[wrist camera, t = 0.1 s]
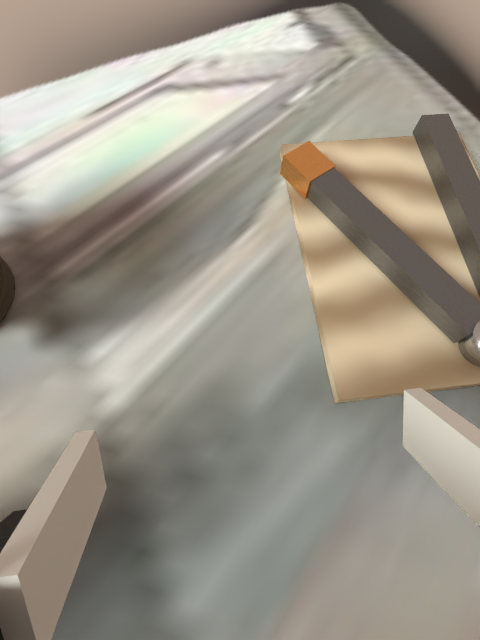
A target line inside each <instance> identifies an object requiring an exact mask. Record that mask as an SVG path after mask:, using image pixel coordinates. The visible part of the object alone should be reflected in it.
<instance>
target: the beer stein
mask: <svg viewBox="0 0 480 640" xmlns="http://www.w3.org/2000/svg"><path fill="white" fill-rule="evenodd" d="M14 289H15V288H14V277H13V275H12V272H11V270H10V268H9V266H8V265H7V264H6V262H5V261H4V260H3V259H2V258H1V257H0V322H1V320H2V319H3V317H4V316H5V314H6V312H7V310H8V308H9V306H10V304H11V302H12V300H13V295H14Z"/></svg>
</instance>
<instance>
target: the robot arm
mask: <svg viewBox="0 0 480 640" xmlns="http://www.w3.org/2000/svg"><path fill="white" fill-rule="evenodd" d="M403 447H404V448H405V449H406V450H407V451H408V452H409V453H410V454H411V455H412V456H413V457H414V458H415V460H416V461H417V462H418V463H419V464H420V465H421V466H422V467H423V468H424V469H425V470H426V471H427V472H428V473H429V474H430V475H431V477H432V478H433V479H434V480H435V481H436V482H437V483H438V484H439V485H440V486H441V487H442V488H443V489H444V490H445V491H446V492H447V494H448V495H449V496H450V497H451V498H452V499H453V500H454V501H455V502H456V503H457V504H458V505H459V506H460V507H461V508H462V509H463V510H464V512H465V513H466V514H467V515H468V516H469V517H470V518H471V519H472V520H473V521H474V522H475V523H476V524H477V525H478V526H479V527H480V429H478V428H477V427H476V426H474V425H473V424H471V423H470V422H468V421H467V420H466V419H464V418H463V417H461V416H460V415H459V414H457V413H456V412H454V411H453V410H452V409H450V408H449V407H447V406H446V405H445V404H443V403H442V402H440V401H439V400H437V399H436V398H435V397H433V396H432V395H430V394H429V393H428V392H426V391H425V390H423V389H422V388H414V389H407V390H404V414H403ZM106 489H107V486H106V481H105V476H104V471H103V466H102V461H101V456H100V451H99V446H98V441H97V436H96V431H95V430H87V431H79V432H76V433H75V434H74V436H73V437H72V439H71V441H70V442H69V444H68V445H67V447H66V449H65V450H64V452H63V453H62V455H61V457H60V458H59V460H58V461H57V463H56V465H55V466H54V468H53V469H52V471H51V473H50V474H49V476H48V477H47V479H46V481H45V482H44V484H43V485H42V487H41V489H40V490H39V492H38V493H37V495H36V497H35V498H34V500H33V501H32V503H31V505H30V506H29V508H28V509H27V510H21V511H14V512H12V513H11V514H10V515H9V516H8V517H7V518H5V519H4V520H3V521H2V522H1V523H0V640H51V639H52V636H53V633H54V630H55V628H56V625H57V622H58V620H59V617H60V614H61V611H62V609H63V606H64V603H65V600H66V598H67V595H68V592H69V590H70V587H71V584H72V581H73V579H74V576H75V573H76V570H77V568H78V565H79V562H80V560H81V557H82V554H83V551H84V549H85V546H86V543H87V541H88V538H89V535H90V532H91V530H92V527H93V524H94V521H95V519H96V516H97V513H98V511H99V508H100V505H101V502H102V500H103V497H104V494H105V491H106Z"/></svg>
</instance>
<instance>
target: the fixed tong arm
mask: <svg viewBox="0 0 480 640" xmlns="http://www.w3.org/2000/svg"><path fill="white" fill-rule="evenodd" d="M413 135H414V138H415V140H416V142H417V145H418V147H419V150H420V152H421V155H422V157H423V160H424V162H425V165H426V167H427V169H428V172H429V174H430V177H431V179H432V182H433V184H434V187H435V189H436V192H437V194H438V197H439V199H440V201H441V204H442V206H443V209H444V211H445V214H446V216H447V219H448V221H449V224H450V226H451V229H452V231H453V233H454V236H455V238H456V241H457V243H458V246H459V248H460V251H461V253H462V256H463V258H464V260H465V263H466V265H467V268H468V270H469V273H470V275H471V278H472V280H473V283H474V285H475V288H476V290H477V292H478V295H479V297H480V180H479V178H478V176H477V174H476V172H475V170H474V168H473V165H472V163H471V161H470V159H469V157H468V155H467V153H466V150H465V148H464V146H463V144H462V142H461V140H460V138H459V135H458V133H457V131H456V129H455V127H454V125H453V123H452V121H451V118H450V116H449V114H436V115H422V116H421V118H420V120H419V122H418V123H417V125H416V127H415V129H414V131H413Z"/></svg>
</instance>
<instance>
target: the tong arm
mask: <svg viewBox="0 0 480 640" xmlns="http://www.w3.org/2000/svg"><path fill="white" fill-rule="evenodd" d="M335 167H336V165H335V164H334V163H332V162H331V161H330V160H329V159H328V158H327V157H326V156H325V155H324V154H323V153H322V152H321V151H319V150H318V149H317V148H316V147H315V146H314V145H313V144H312V143H311V142H310V141H308V142H306V143H304V144H303V145H301V146H299V147H297V148H296V149H294V150H292V151H290V152H288V153H287V154H285V155H283V159H282V165H281V171H280V174H281V175H282V176H283V177H284V178H285V179H286V180H287V181H288V182H289V183H290V184H291V185H292V186H293V187H294V188H295V189H296V190H297V191H298V192H299V193H300V194H301V195H302V196H303V197H304V198H308V199H309V200H310V201H311V202H312V203H313V204H314V205H315V206H316V207H317V208H318V209H319V210H320V211H321V212H322V213H323V214H324V215H325V216H326V217H327V218H328V219H329V220H330V221H331V222H332V223H333V224H334V225H335V226H336V227H337V228H338V229H339V230H340V231H341V232H342V233H343V234H344V235H345V236H346V237H347V238H348V239H349V240H350V241H351V242H352V243H353V244H354V245H355V246H356V247H357V248H358V249H359V250H360V251H361V252H362V253H363V254H364V255H365V256H366V257H367V258H369V259H370V260H371V261H372V262H373V263H374V264H375V265H376V266H377V267H378V268H379V269H380V270H381V271H382V272H383V273H384V274H385V275H386V276H387V277H388V278H389V279H390V280H391V281H392V282H393V283H394V284H395V285H396V286H397V287H398V288H399V289H400V290H401V291H402V292H403V293H404V294H405V295H406V296H407V297H408V298H409V299H410V300H411V301H412V302H413V303H414V304H415V305H416V306H417V307H418V308H419V309H420V310H421V311H422V312H423V313H424V314H425V315H426V316H427V317H428V318H429V319H430V320H431V321H432V322H433V323H434V324H435V325H436V326H437V327H438V328H439V329H440V330H441V331H442V332H443V333H444V334H445V335H446V336H447V337H448V338H449V339H450V340H451V341H452V342H453V343H456V342H458V348H459V350H460V353H461V354H462V356H463V357H464V358H465V359H466V360H467V361H468V362H469V363H471V364H473V365H475V366H478V367H480V303H479V302H478V301H477V300H476V299H475V298H474V297H473V296H472V295H471V294H470V293H469V292H467V291H466V290H465V289H464V288H463V287H462V286H461V285H460V284H459V283H458V282H457V281H456V280H455V279H454V278H452V277H451V276H450V275H449V274H448V273H447V272H446V271H445V270H444V269H443V268H442V267H441V266H440V265H438V264H437V263H436V262H435V261H434V260H433V259H432V258H431V257H430V256H429V255H428V254H427V253H426V252H425V251H423V250H422V249H421V248H420V247H419V246H418V245H417V244H416V243H415V242H414V241H413V240H412V239H411V238H409V237H408V236H407V235H406V234H405V233H404V232H403V231H402V230H401V229H400V228H399V227H398V226H397V225H395V224H394V223H393V222H392V221H391V220H390V219H389V218H388V217H387V216H386V215H385V214H384V213H383V212H382V211H380V210H379V209H378V208H377V207H376V206H375V205H374V204H373V203H372V202H371V201H370V200H369V199H368V198H366V197H365V196H364V195H363V194H362V193H361V192H360V191H359V190H358V189H357V188H356V187H355V186H354V185H353V184H351V183H350V182H349V181H348V180H347V179H346V178H345V177H344V176H343V175H342V174H341V173H340V172H339V171H337V170H336V169H335Z"/></svg>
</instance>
